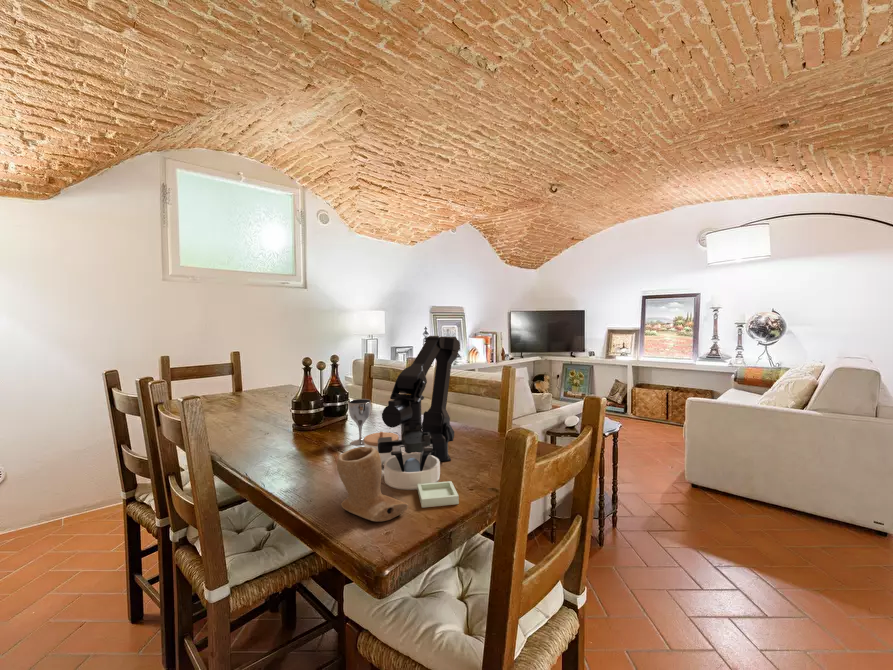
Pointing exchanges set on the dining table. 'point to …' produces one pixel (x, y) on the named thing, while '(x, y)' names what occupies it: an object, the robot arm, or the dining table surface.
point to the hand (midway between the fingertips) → (412, 473)
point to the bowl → (411, 479)
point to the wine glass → (359, 415)
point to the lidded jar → (373, 442)
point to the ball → (412, 465)
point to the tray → (437, 494)
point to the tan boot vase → (366, 485)
